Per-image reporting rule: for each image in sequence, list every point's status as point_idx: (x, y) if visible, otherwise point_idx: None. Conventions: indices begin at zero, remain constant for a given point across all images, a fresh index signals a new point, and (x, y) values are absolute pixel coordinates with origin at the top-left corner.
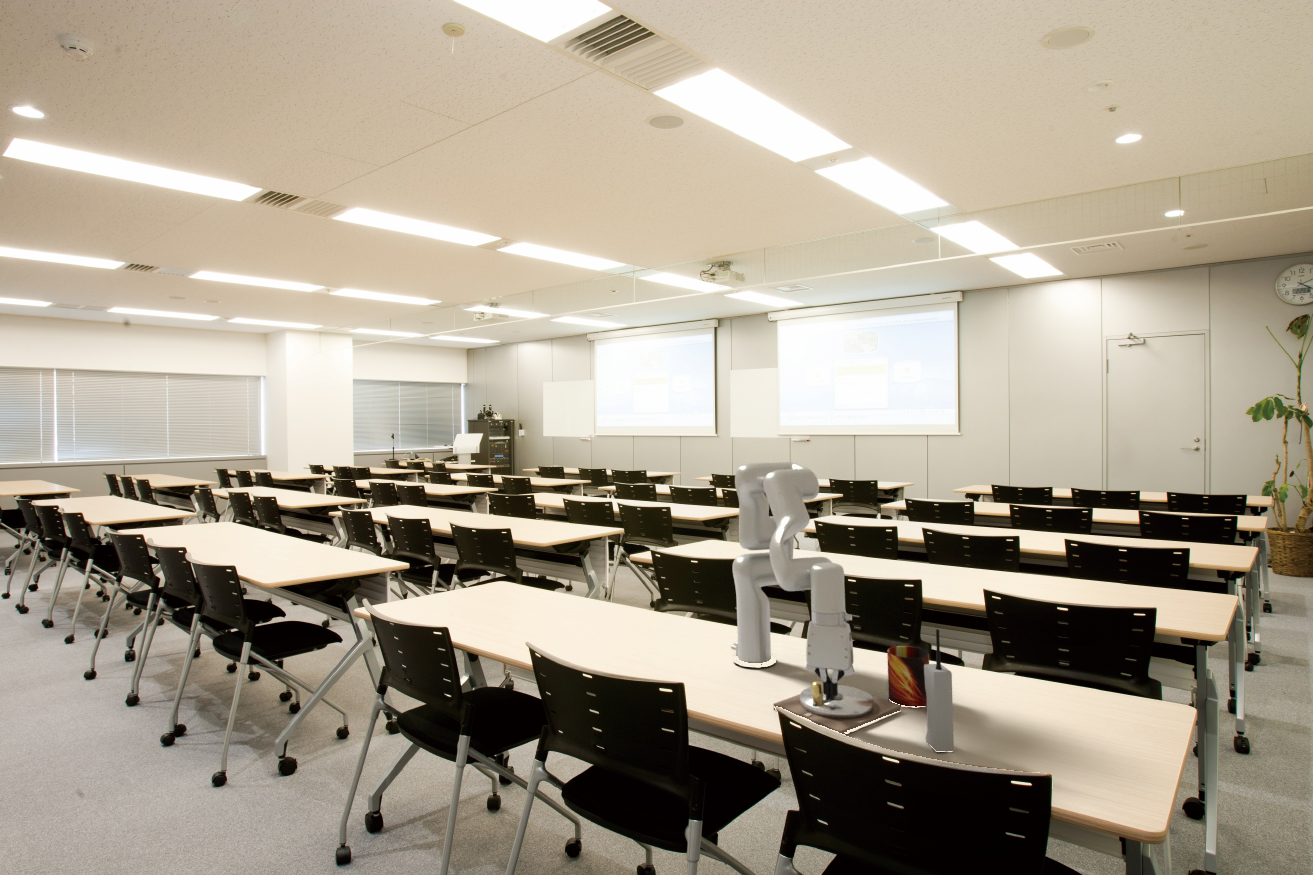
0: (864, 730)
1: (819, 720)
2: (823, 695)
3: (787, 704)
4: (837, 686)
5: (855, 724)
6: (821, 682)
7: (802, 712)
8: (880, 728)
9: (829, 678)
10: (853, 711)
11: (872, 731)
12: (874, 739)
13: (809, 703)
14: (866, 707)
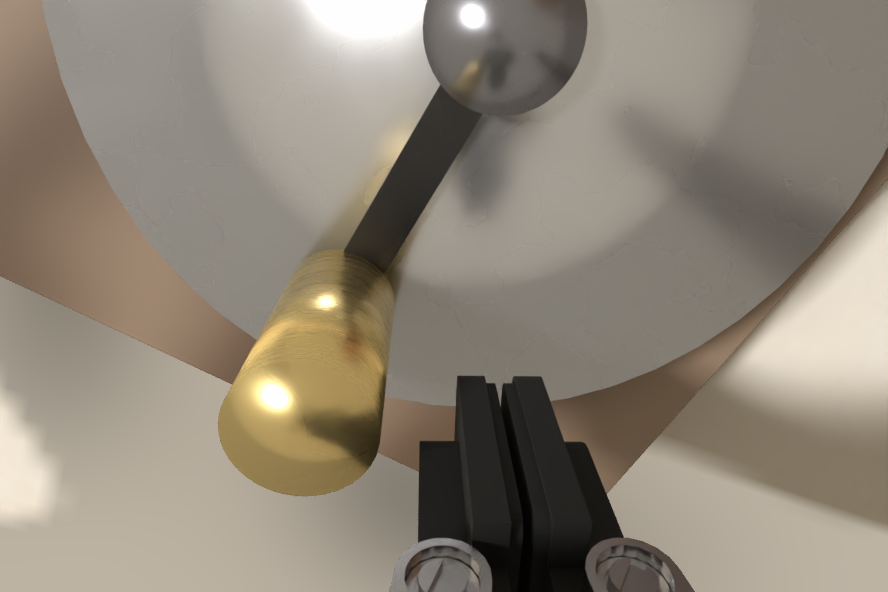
0: None
1: (397, 431)
2: (339, 12)
3: (20, 198)
4: (606, 500)
5: (671, 418)
6: (353, 399)
7: (224, 330)
8: (838, 290)
9: (508, 580)
10: (685, 351)
11: (770, 356)
12: (767, 461)
13: (254, 306)
14: (823, 227)
